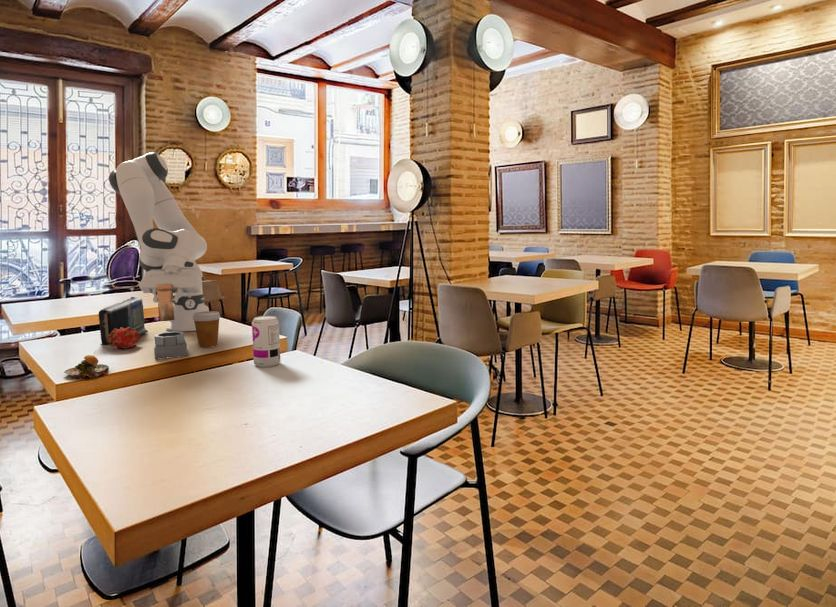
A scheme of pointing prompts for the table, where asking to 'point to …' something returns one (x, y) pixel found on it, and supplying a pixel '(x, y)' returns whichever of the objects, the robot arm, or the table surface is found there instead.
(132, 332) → the dragon fruit
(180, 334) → the valve body
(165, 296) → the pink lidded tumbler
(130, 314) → the radio
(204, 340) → the disposable coffee cup
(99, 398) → the table surface
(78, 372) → the burger
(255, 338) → the supplement can
